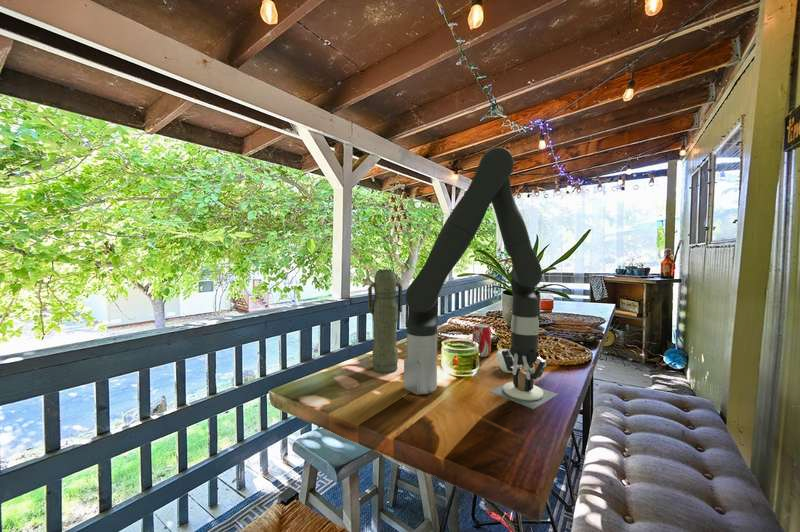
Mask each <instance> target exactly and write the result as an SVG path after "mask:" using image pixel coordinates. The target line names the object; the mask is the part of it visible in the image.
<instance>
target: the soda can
mask: <svg viewBox="0 0 800 532" xmlns="http://www.w3.org/2000/svg"><path fill="white" fill-rule="evenodd" d="M473 341H475V342H477V343H478V344H479V353H480V357H479V358H487V357H488V356H490V355H491V351H492V350H491V349H492V348H491V347H492V346H491V345H492V330H491V328H490V325H489V324H486V323H475V324H474V326H473V328H472V342H473Z"/></svg>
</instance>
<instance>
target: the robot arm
mask: <svg viewBox="0 0 800 532" xmlns="http://www.w3.org/2000/svg"><path fill="white" fill-rule="evenodd" d="M514 165H515V160H514V156H513V154H512V153H511V151H510V150H509V149H506V148H505V147H494V148H492V149H489V150H487V151H486V152H484V154H483V155H482V157H481V158H480V161H479V163H478V167H477V170H476V172H475V173H474V176H473V178H472V180H471V183H470V184H469V186H468V188H467V190H466V191H465V193H464V194H463V195H462V197H461V198H460V200H459V201H458V202H457V204H456V205H455V206H454V208H453V209H452V211H451V213H450V214H449V216H448V217H447V219H446V221H445V222H444V224H443V226H442V227H441V229H440V231H439V233H438V235H437V237H436V239H435V241H434V243H433V246H432V247H431V250H430V252H429V255H428V257H427V259H426V261H425V263H424V265H423V267H421V269H420V271H419V272H418V274H417V275H416V276H415V278H414V279H413V281H412V282H411V284H410V285H409V286H407V288H406V292H405V302H406V305H407V307H408V308H407V309H408V313H407V314H408V315H407V322H406V357H404V358H403V389H404V390H406V391H408V392H410V393H412V394H414V395H416V396H418V395H429V394H432V393H433V392H434V391H435V390H437V387H438V385H437V383H438V381H437V380H438V326H439V325H438V324H439V294H440V292H441V290H442V288H443V285H444V283H445V282H446V280H447V278H448V276H449V274H450V273H451V271H452V270H453V269H454V268H455V266H456V265H457V264H458V262H459V261H460V260H461V259H462V257H463V256H464V254H465V252H466V251H467V249H468V248H469V246H470V245H471V243H472V241H473V239H474V237H475V236H476V234H477V232H478V230H479V228H480V226H481V224H482V222H483V219H484V218H485V216H486V214H487V211H488V210H489V207H490V204H492V206H493V210H494V213H495V217H496V221H497V224H498V227H499V231H500V235H501V239H502V241H503V246H504V249H505V251H506V253H507V255H508V256H509V257H510V259H511V260H510V261H511V262H512V265H513V267H512V269H511V272H510V283H511V293H512V305H511V306H512V309H511V310H512V311H511V312H512V315H511V321H510V348H509V349H510V350H505V351H502V355H503V358H504V361H505V364H506V367H507V370H508V371H511V372H512V373H511V374H512V380H513V384H514V387H516V388H518V371H522V367H523V368H524V370H523V371H526V378H527V379H526V389H525V390H526V391H527V392H529V391H531V390H532V389H533V385H534V382H535V381H534V380H537V379H539V378H541V376H542V375H543V372H544V371H545V369H546V368H547V366H548V362H549V361H548V360H546V359H543V358H541V357H540V354H539V351H538V350H539V335H540V334H539V333H540V327H539V326H540V323H539V299H538V296H537V295H536V286H538V285H539V284H540V283H541V281H542V278H543V270H542V266H541V264H540V261H539V259H538V257H537V255H536V252H535V251H534V249H533V247H532V243H531V240H530V239H531V238H530V235H529V232H528V229H527V226H526V223H525V220H524V218H523V216H522V214H521V211H520V210H519V207H518V205H517V203H516V201H515V198H514V195H513V191H512V186H511V181H510V176H511V175H512V173H513V171H514ZM512 356H513V358H514V362H513V359H512ZM535 363H536V367H535Z"/></svg>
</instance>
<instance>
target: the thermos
mask: <svg viewBox="0 0 800 532" xmlns="http://www.w3.org/2000/svg"><path fill="white" fill-rule="evenodd" d="M373 281H374V282H373V283H371V284H370V285H369V286H368V289H367V296H368V297H367V302H368V303H367V305H368V306H367V307H368V308H367V311H368V312H369V313H370V314H371V316H372V321H373V349H372V364H373V365H372V370H373V372H375V373H378V374H392V373H395V372H397V371H398V362H399V350H398V347H397V322H398V319H399V314H400V313H402V310H403V286H402V285H401V283H399V282H397V277H396V275H395V271H394V270H392V269H378V270H377V271H376V272H375V275H374V279H373ZM373 287H374V288H373ZM397 288H398V295H397V296H398V298H397V296H396V293H397ZM373 289H374V291H373ZM373 292H374V297H373V295H372V294H373ZM372 297H373V298H372ZM373 299H374V300H373ZM397 299H398V302H397ZM372 301H373V302H372Z"/></svg>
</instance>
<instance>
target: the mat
mask: <svg viewBox="0 0 800 532" xmlns="http://www.w3.org/2000/svg"><path fill="white" fill-rule="evenodd" d="M509 382H513V379H512V380H511V381H510V380H509ZM509 382H507V383H509ZM505 384H506V383H504V384H502V385H499V386H496V387H495V388H493V389H491V390H488V392H489V393H491V394H494V395H497V396H499V397H501V398H504V399H507V400H509V401H512V402H514V403H517V404H520V405H522V406H524V407H527V408H529V409H532V410H534V409H536V408H537V407H539V406H541V405H543V404H545V403H546V402H548V401H550V400H551V399H554V398H556V396H559V393H556V392H553V391H550V390H547V389H545V388H541V387H540V388H541V389H542V390H543V397H542V398H541V399H539V400H534V401H526V400H520V399H516V398H513V397H510V396H508V395H507V394H506V393H504V391H503V386H504V385H505Z"/></svg>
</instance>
